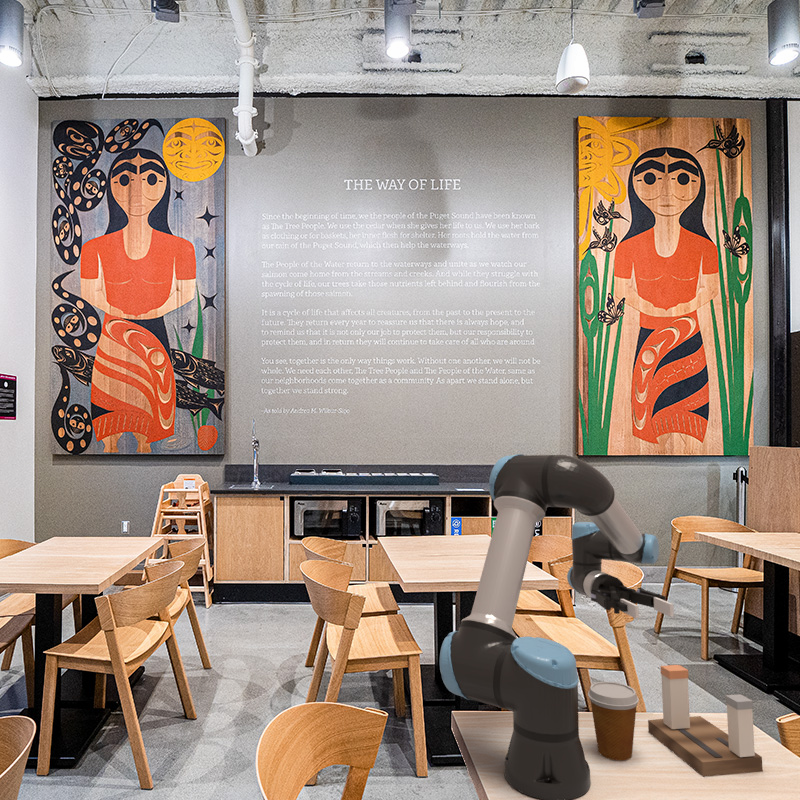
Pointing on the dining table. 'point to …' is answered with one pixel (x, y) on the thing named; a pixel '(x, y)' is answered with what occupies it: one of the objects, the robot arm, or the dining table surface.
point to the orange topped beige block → (675, 696)
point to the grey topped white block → (740, 725)
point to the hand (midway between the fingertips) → (654, 611)
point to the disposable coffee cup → (614, 718)
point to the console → (704, 748)
